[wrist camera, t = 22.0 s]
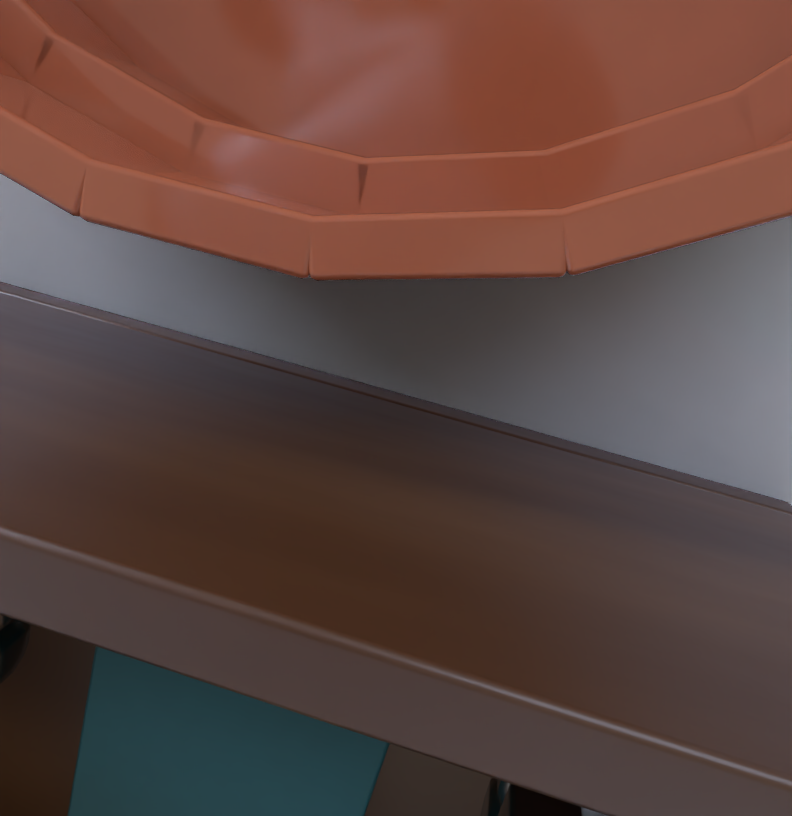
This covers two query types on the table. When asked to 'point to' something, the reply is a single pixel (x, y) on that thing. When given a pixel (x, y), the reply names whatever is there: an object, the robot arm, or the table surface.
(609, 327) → the table surface
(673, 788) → the holder
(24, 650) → the robot arm
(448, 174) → the bowl
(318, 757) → the teal sponge
